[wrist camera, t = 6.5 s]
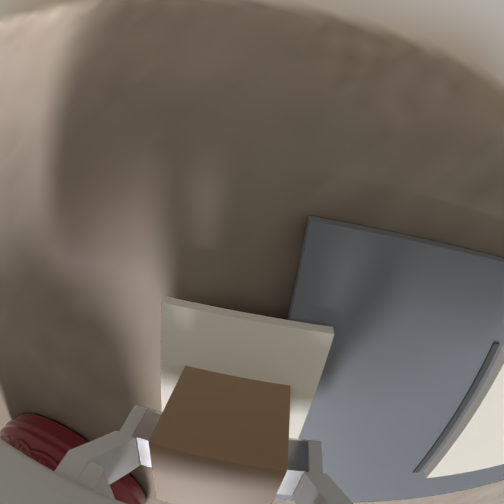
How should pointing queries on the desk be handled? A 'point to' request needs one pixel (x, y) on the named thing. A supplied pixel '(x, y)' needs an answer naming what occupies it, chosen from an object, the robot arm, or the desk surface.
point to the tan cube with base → (231, 401)
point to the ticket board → (403, 361)
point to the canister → (59, 450)
